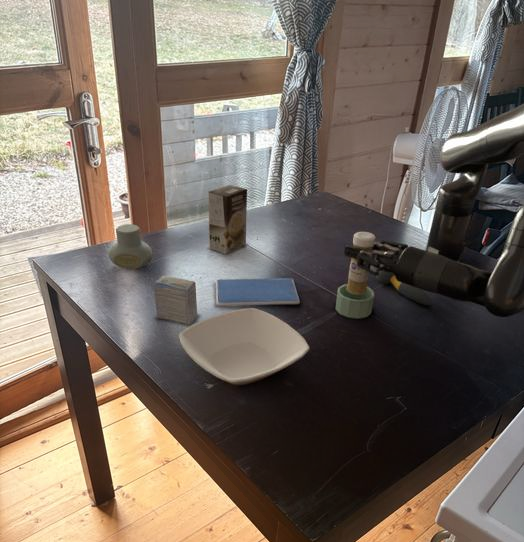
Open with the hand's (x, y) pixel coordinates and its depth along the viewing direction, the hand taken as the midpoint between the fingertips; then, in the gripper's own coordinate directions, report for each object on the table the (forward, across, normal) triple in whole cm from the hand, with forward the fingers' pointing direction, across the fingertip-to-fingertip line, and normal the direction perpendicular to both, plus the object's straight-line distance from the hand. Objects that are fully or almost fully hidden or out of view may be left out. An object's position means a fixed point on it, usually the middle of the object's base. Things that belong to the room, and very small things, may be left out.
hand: (351, 246), depth 112 cm
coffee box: (+42, -6, +15) cm, 45 cm away
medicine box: (+24, +30, +14) cm, 41 cm away
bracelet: (-3, 0, +15) cm, 15 cm away
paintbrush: (-7, -16, +15) cm, 23 cm away
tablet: (+18, +10, +15) cm, 26 cm away
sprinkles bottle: (-3, 0, +10) cm, 11 cm away
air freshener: (+52, +20, +14) cm, 58 cm away
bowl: (+2, +33, +15) cm, 36 cm away
